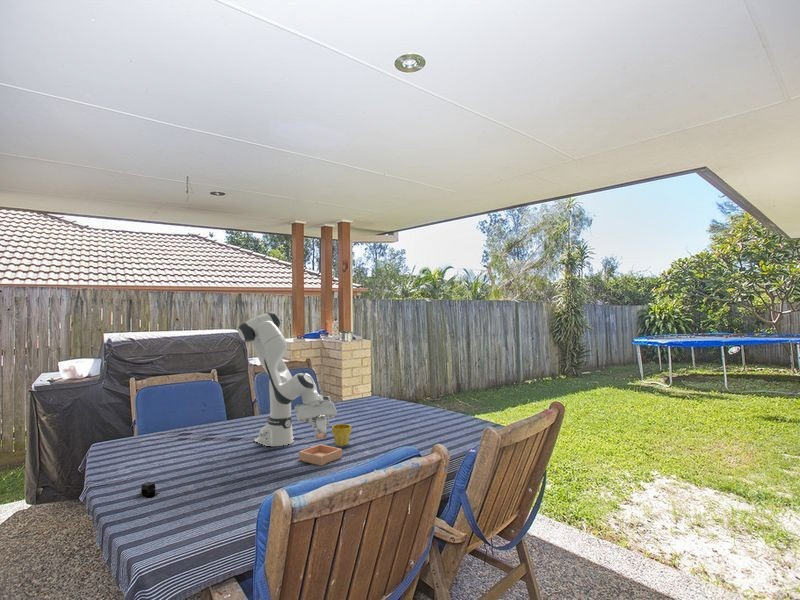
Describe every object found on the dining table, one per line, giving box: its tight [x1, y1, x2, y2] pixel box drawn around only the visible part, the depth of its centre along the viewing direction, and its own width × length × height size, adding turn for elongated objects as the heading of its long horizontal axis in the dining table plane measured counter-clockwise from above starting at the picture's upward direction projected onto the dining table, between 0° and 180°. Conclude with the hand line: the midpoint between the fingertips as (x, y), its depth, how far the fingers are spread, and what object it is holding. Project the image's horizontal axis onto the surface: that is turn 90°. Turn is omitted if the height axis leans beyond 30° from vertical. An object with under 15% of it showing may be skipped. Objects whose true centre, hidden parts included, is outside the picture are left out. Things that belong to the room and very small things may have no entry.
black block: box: [136, 481, 161, 499], centre depth 171 cm, size 12×7×5 cm, turn 66°
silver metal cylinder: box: [314, 415, 328, 440], centre depth 214 cm, size 6×6×11 cm
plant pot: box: [331, 423, 352, 447], centre depth 237 cm, size 10×10×10 cm
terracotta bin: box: [298, 443, 343, 466], centre depth 214 cm, size 15×15×4 cm
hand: (321, 426), depth 214 cm, fingers closed on silver metal cylinder, 6 cm apart
